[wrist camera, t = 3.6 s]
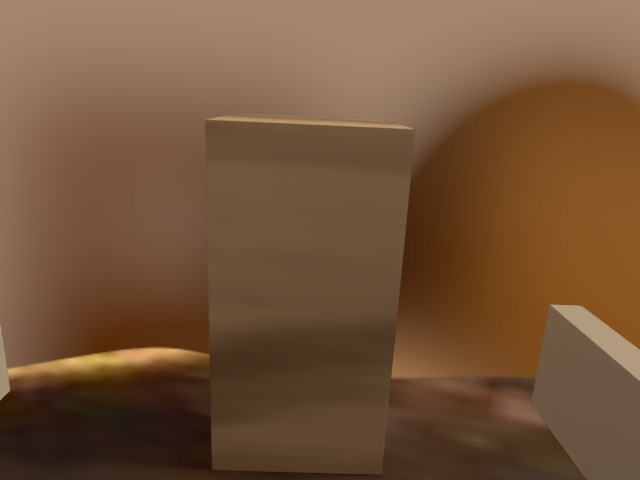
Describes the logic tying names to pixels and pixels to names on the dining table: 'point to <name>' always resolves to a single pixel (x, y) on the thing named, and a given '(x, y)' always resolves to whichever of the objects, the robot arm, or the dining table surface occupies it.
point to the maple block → (303, 288)
